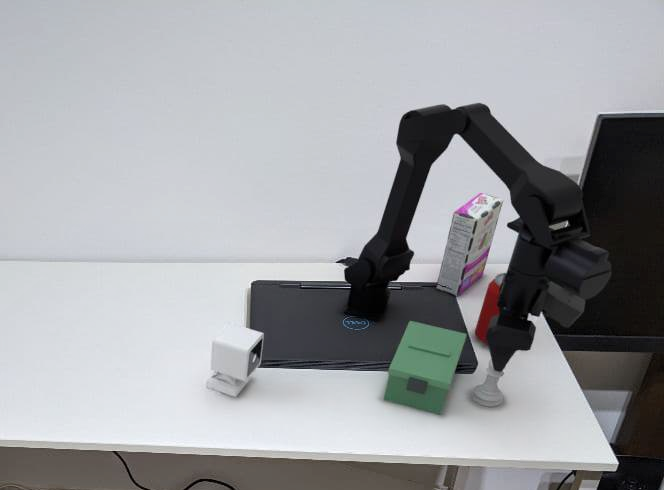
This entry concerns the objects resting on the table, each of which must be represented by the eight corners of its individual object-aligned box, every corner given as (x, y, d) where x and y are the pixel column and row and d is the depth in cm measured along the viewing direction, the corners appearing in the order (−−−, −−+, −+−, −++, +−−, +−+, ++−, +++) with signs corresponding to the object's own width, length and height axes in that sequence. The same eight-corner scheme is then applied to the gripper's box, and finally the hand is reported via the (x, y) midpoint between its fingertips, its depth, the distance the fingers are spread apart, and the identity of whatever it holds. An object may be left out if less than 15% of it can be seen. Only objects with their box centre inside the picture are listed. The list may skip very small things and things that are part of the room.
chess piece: (477, 408, 136) (490, 368, 131) (466, 390, 140) (478, 350, 135) (506, 406, 136) (520, 366, 131) (493, 389, 140) (507, 349, 135)
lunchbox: (381, 401, 138) (388, 367, 133) (403, 349, 149) (410, 317, 145) (440, 417, 134) (450, 383, 130) (458, 363, 146) (468, 330, 141)
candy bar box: (459, 267, 172) (480, 191, 161) (483, 276, 169) (505, 198, 159) (433, 288, 165) (453, 210, 155) (457, 297, 163) (479, 218, 152)
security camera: (242, 401, 138) (247, 350, 132) (204, 388, 141) (207, 337, 135) (259, 381, 142) (264, 331, 136) (221, 368, 145) (225, 319, 139)
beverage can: (516, 352, 148) (536, 292, 141) (475, 348, 149) (493, 288, 142) (510, 331, 153) (529, 272, 146) (471, 327, 154) (488, 269, 147)
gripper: (587, 310, 113) (551, 402, 123) (595, 250, 126) (562, 337, 136) (499, 291, 117) (471, 382, 127) (515, 235, 130) (489, 321, 140)
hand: (501, 355), depth 132 cm, fingers open, 9 cm apart
